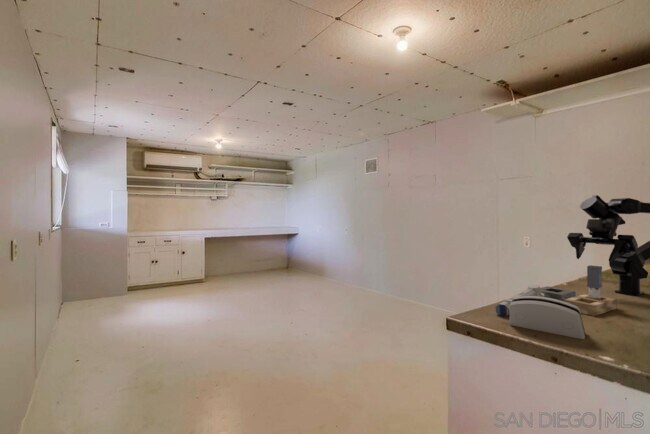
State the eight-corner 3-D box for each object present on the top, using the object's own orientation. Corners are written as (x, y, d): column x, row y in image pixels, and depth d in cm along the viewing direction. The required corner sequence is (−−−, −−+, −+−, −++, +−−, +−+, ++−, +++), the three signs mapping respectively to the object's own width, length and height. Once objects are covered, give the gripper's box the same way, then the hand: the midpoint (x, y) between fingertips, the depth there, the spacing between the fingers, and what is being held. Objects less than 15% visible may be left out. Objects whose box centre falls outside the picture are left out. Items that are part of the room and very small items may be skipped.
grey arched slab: (586, 333, 84) (585, 299, 81) (584, 345, 80) (583, 310, 78) (513, 319, 95) (509, 289, 92) (508, 329, 92) (504, 298, 89)
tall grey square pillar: (590, 305, 107) (590, 265, 107) (601, 307, 105) (601, 266, 105) (587, 307, 105) (587, 266, 105) (599, 309, 103) (599, 267, 103)
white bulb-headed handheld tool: (492, 302, 101) (529, 279, 115) (494, 323, 101) (530, 298, 115) (510, 305, 96) (546, 281, 111) (512, 327, 97) (547, 301, 111)
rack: (586, 302, 110) (586, 293, 110) (616, 308, 103) (616, 298, 103) (564, 309, 104) (564, 299, 104) (594, 316, 97) (594, 305, 97)
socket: (547, 294, 122) (547, 286, 122) (575, 299, 114) (575, 291, 114) (533, 297, 117) (533, 289, 117) (561, 303, 109) (561, 294, 109)
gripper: (569, 211, 124) (554, 242, 119) (634, 210, 108) (620, 246, 103) (579, 231, 129) (565, 262, 123) (643, 233, 112) (630, 269, 107)
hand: (592, 259), depth 114 cm, fingers open, 9 cm apart
